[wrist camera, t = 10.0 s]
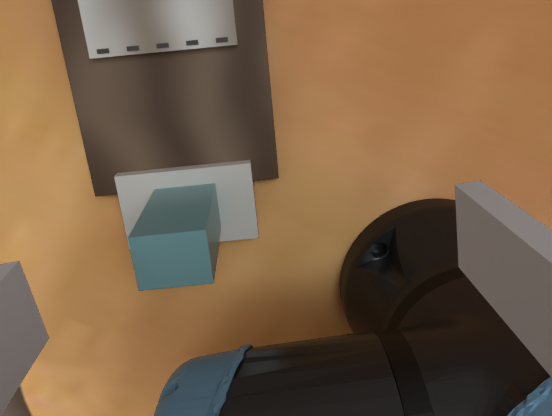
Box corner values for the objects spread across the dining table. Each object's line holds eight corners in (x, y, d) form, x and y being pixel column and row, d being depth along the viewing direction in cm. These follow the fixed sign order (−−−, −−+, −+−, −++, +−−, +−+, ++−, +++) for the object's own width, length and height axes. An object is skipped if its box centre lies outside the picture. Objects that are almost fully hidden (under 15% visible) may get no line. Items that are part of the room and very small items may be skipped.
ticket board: (251, -120, 34) (251, -140, 29) (277, 172, 41) (281, 190, 36) (36, -101, 33) (6, -118, 29) (100, 190, 40) (83, 210, 36)
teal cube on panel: (250, 159, 38) (251, 205, 29) (258, 232, 41) (261, 296, 31) (117, 172, 38) (75, 222, 29) (132, 245, 40) (97, 313, 31)
